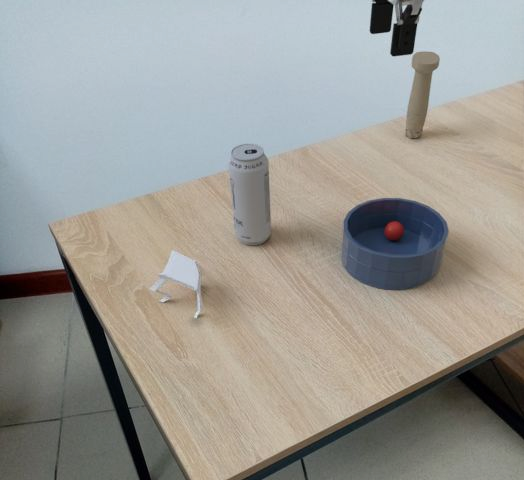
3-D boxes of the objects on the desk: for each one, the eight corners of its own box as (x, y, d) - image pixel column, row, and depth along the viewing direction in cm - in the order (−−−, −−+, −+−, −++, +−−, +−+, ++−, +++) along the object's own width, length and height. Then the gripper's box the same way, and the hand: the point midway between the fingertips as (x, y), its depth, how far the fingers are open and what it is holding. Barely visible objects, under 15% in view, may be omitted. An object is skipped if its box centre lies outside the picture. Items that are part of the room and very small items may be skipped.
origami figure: (141, 292, 80) (134, 266, 77) (186, 268, 84) (181, 242, 80) (187, 333, 74) (182, 307, 70) (234, 305, 77) (231, 279, 74)
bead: (394, 231, 86) (396, 215, 84) (406, 240, 85) (409, 224, 82) (379, 237, 86) (381, 221, 83) (391, 246, 84) (394, 230, 82)
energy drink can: (234, 227, 91) (225, 143, 80) (269, 224, 91) (265, 139, 80) (236, 249, 87) (228, 163, 75) (273, 245, 87) (270, 159, 76)
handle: (401, 142, 108) (413, 64, 97) (400, 128, 112) (411, 51, 101) (426, 143, 107) (441, 64, 96) (423, 128, 112) (437, 51, 101)
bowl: (396, 219, 90) (401, 187, 86) (461, 266, 81) (470, 233, 76) (322, 250, 85) (323, 218, 81) (382, 303, 76) (387, 270, 72)
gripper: (466, -102, 60) (437, 61, 72) (412, -121, 71) (395, 22, 84) (401, -96, 59) (384, 67, 72) (358, -116, 71) (349, 27, 83)
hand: (390, 43), depth 78 cm, fingers open, 9 cm apart
